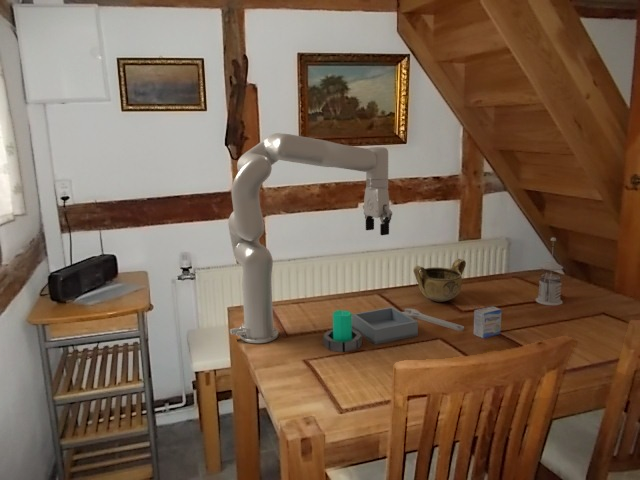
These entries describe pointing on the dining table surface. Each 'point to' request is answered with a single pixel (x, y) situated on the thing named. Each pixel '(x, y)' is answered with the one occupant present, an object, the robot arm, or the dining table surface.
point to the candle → (342, 325)
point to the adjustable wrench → (432, 319)
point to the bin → (384, 325)
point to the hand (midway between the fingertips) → (377, 232)
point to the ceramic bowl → (440, 281)
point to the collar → (342, 342)
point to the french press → (549, 284)
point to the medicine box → (487, 322)
